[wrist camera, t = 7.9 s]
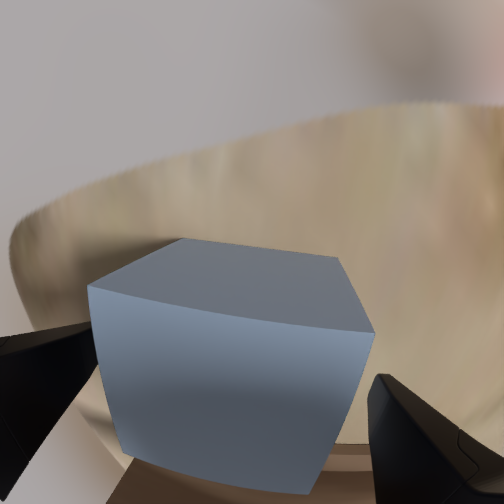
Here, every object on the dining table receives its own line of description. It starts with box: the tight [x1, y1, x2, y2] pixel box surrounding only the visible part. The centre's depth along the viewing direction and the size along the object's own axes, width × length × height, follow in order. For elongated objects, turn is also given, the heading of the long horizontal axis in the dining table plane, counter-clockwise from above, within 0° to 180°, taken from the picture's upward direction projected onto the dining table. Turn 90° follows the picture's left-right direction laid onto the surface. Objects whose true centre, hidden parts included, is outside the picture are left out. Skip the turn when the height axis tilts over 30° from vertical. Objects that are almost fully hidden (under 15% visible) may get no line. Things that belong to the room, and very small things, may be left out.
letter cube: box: [87, 238, 375, 495], centre depth 9 cm, size 6×6×6 cm
